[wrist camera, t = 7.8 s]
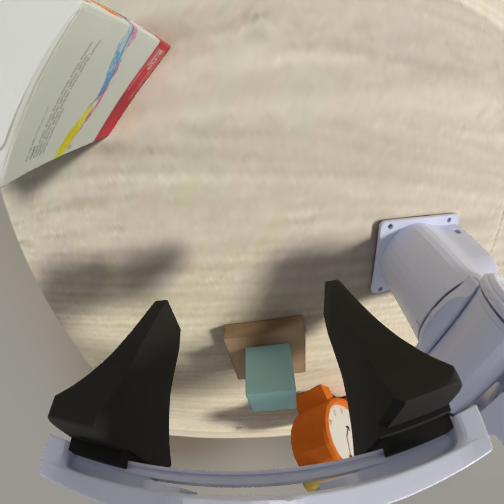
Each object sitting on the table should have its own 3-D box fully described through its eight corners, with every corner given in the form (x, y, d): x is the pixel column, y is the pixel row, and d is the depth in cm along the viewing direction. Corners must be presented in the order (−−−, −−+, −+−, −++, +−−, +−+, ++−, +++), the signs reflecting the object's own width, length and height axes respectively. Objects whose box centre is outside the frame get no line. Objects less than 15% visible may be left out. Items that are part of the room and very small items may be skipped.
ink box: (175, 46, 14) (87, -2, 4) (107, 139, 17) (-3, 200, 7) (98, 3, 11) (-6, -30, 1) (42, 90, 14) (-69, 121, 4)
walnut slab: (301, 311, 28) (305, 329, 25) (302, 355, 32) (305, 371, 30) (224, 321, 28) (223, 339, 26) (238, 363, 32) (238, 379, 30)
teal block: (289, 342, 26) (295, 389, 22) (291, 365, 29) (296, 408, 24) (245, 347, 27) (245, 394, 22) (252, 370, 29) (252, 412, 25)
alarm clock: (361, 397, 40) (385, 498, 23) (333, 411, 42) (350, 508, 25) (317, 379, 35) (339, 512, 18) (285, 396, 37) (296, 518, 20)
